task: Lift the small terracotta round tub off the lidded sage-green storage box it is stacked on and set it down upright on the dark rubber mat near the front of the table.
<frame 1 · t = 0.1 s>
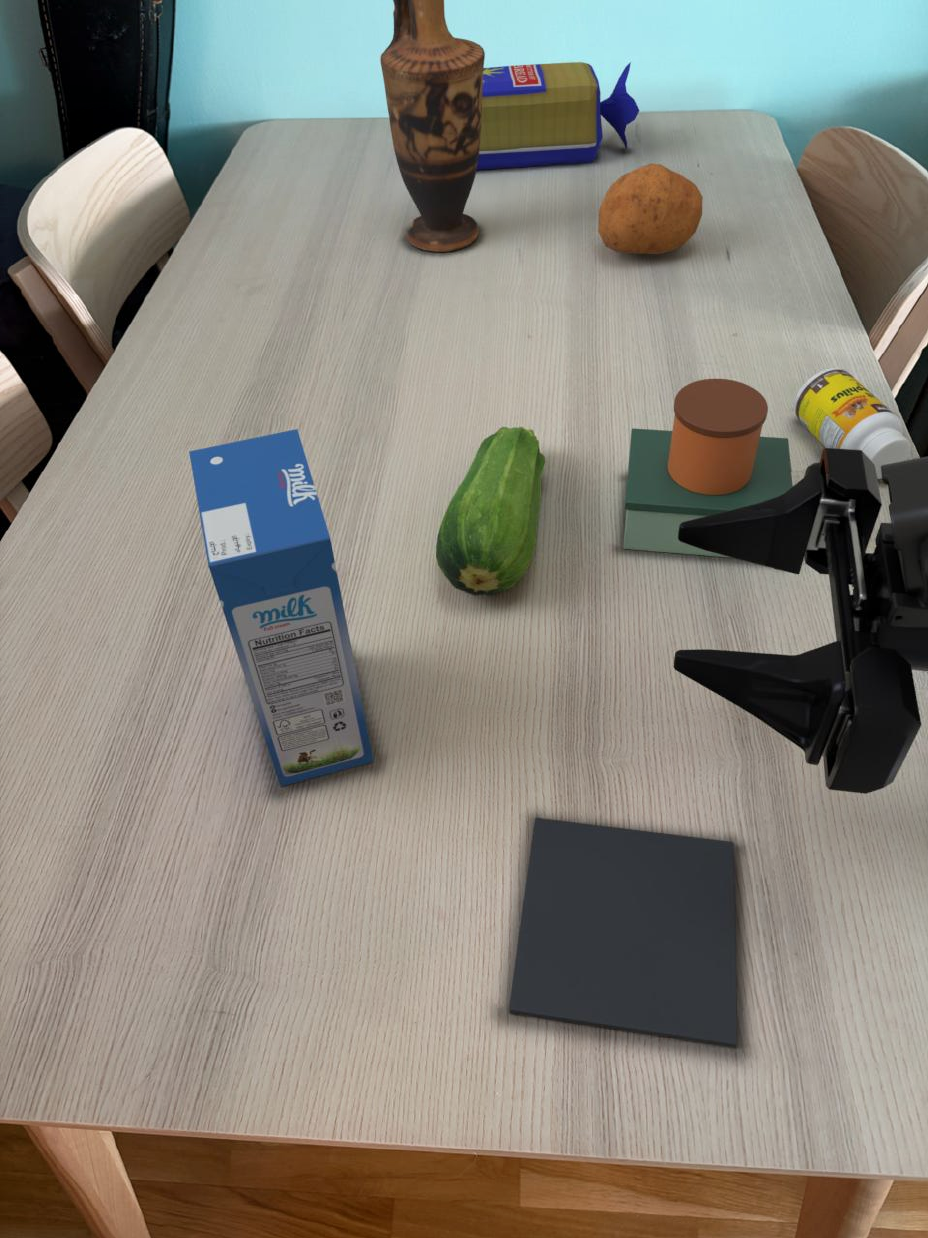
hand: (676, 591, 50), 17 cm above the table, tool horizontal, fingers open, 9 cm apart
vegetable: (500, 528, 80), on the table
round tub: (709, 468, 75), point 5 cm above the table, touching storage box
bread: (534, 156, 130), on the table
mat: (626, 925, 56), on the table
vase: (443, 238, 115), on the table
supplement bottle: (817, 391, 86), point 3 cm above the table
potato: (640, 217, 110), point 3 cm above the table
storage box: (700, 517, 79), on the table, touching round tub
milk carton: (314, 719, 67), on the table
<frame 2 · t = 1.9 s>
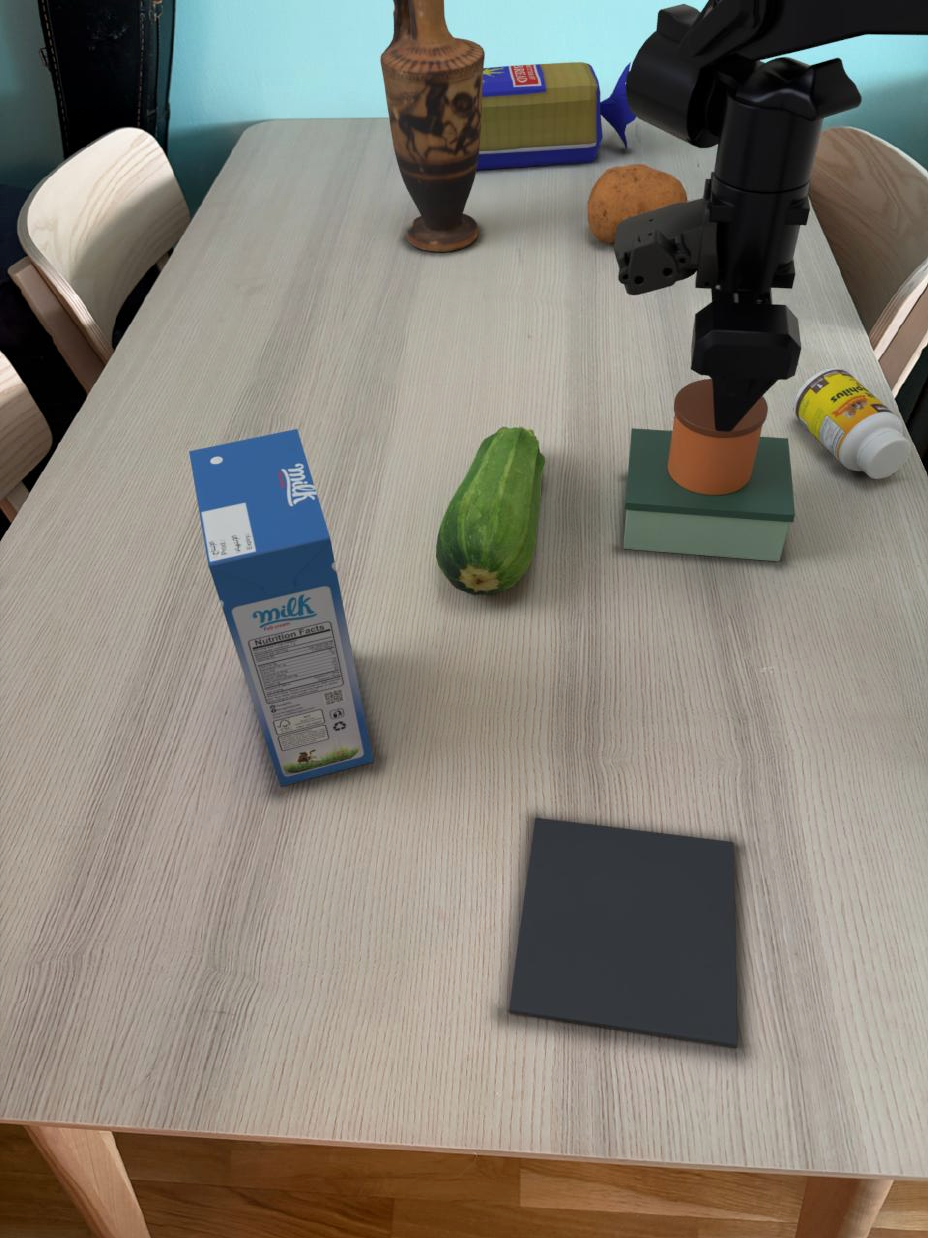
hand: (722, 391, 70), 12 cm above the table, tool pointing down, fingers open, 9 cm apart
potato: (634, 236, 113), on the table
everything else where it was.
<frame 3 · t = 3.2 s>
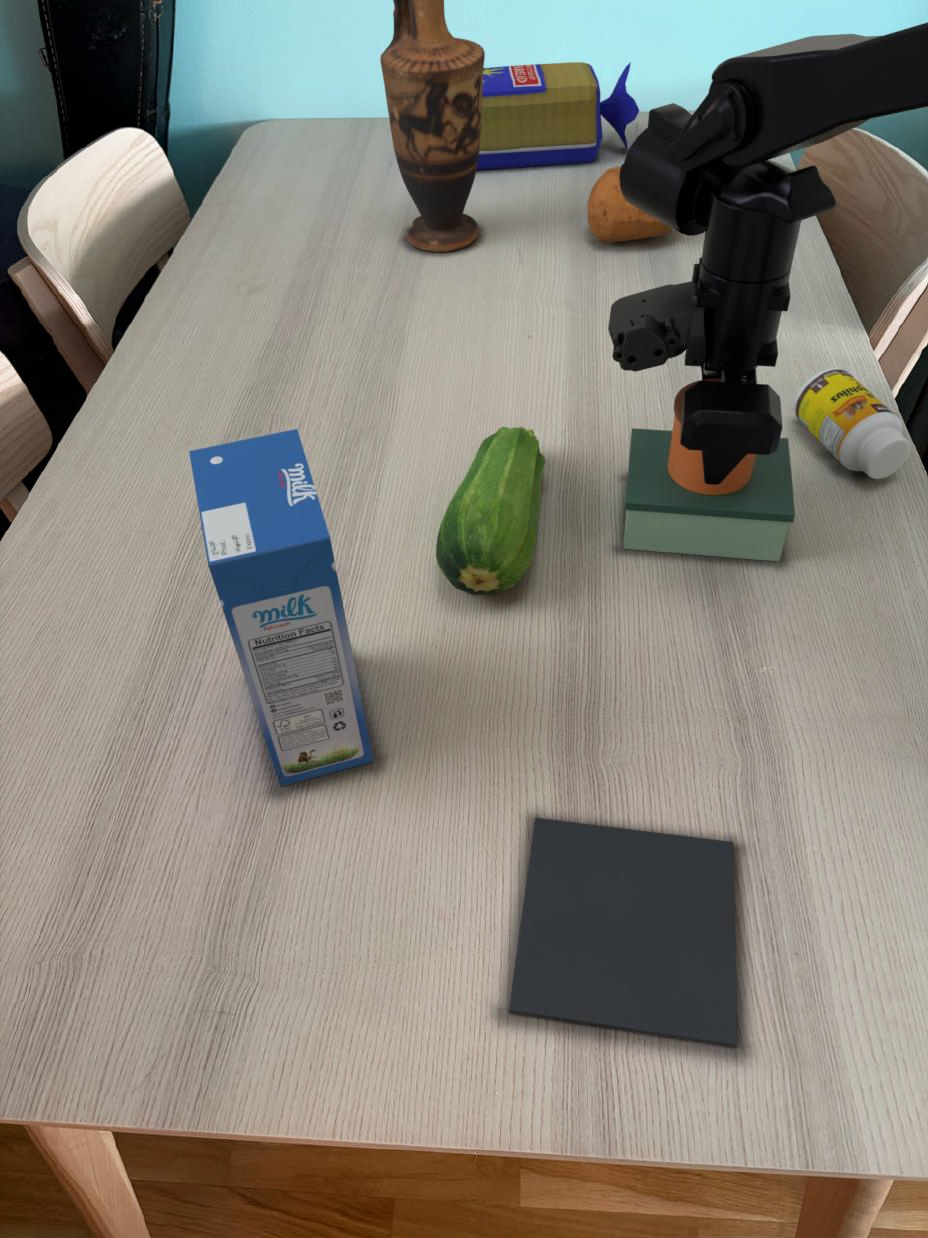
hand: (711, 455, 75), 6 cm above the table, tool pointing down, fingers closed on round tub, 6 cm apart
round tub: (709, 469, 75), point 5 cm above the table, touching gripper, storage box
everything else where it was.
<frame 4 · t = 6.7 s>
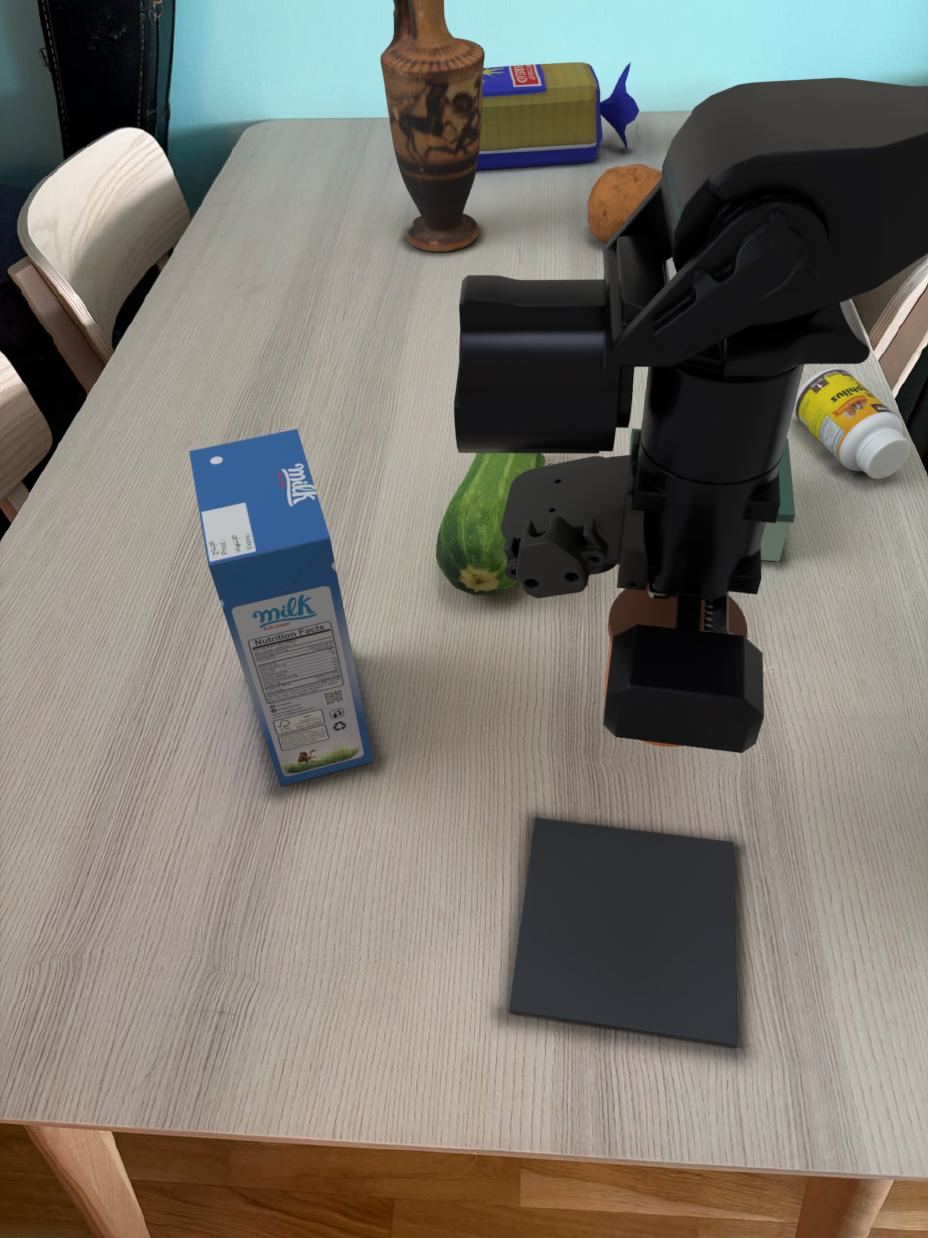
hand: (668, 683, 51), 13 cm above the table, tool pointing down, fingers closed on round tub, 6 cm apart
round tub: (664, 698, 52), point 12 cm above the table, touching gripper
storage box: (700, 517, 79), on the table
everything else where it was.
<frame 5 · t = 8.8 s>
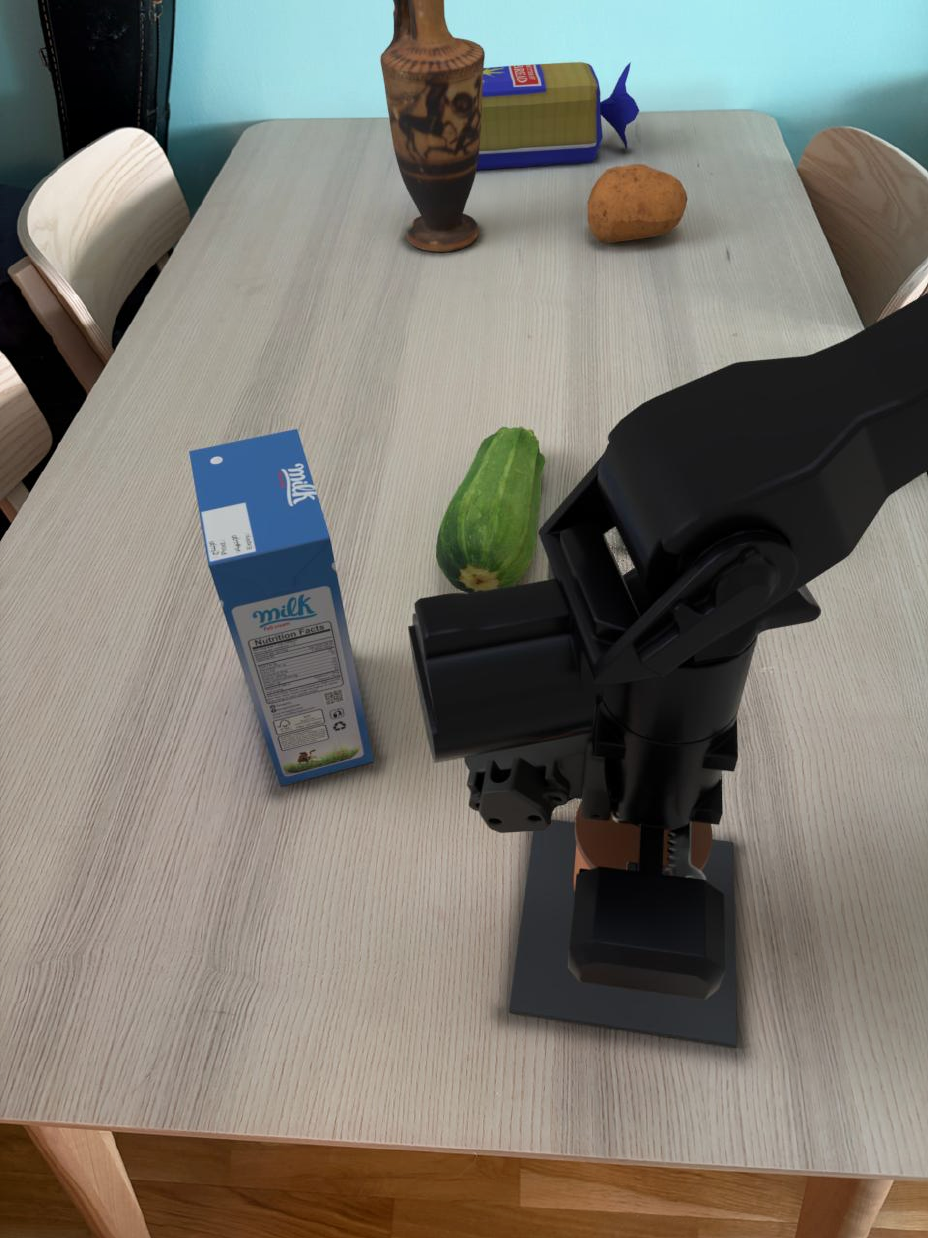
hand: (637, 873, 51), 6 cm above the table, tool pointing down, fingers closed on round tub, 6 cm apart
round tub: (633, 885, 52), point 5 cm above the table, touching gripper
everything else where it was.
when the fingers open (2 cm above the table, at t = 10.4 s): round tub stays where it is, resting on mat.
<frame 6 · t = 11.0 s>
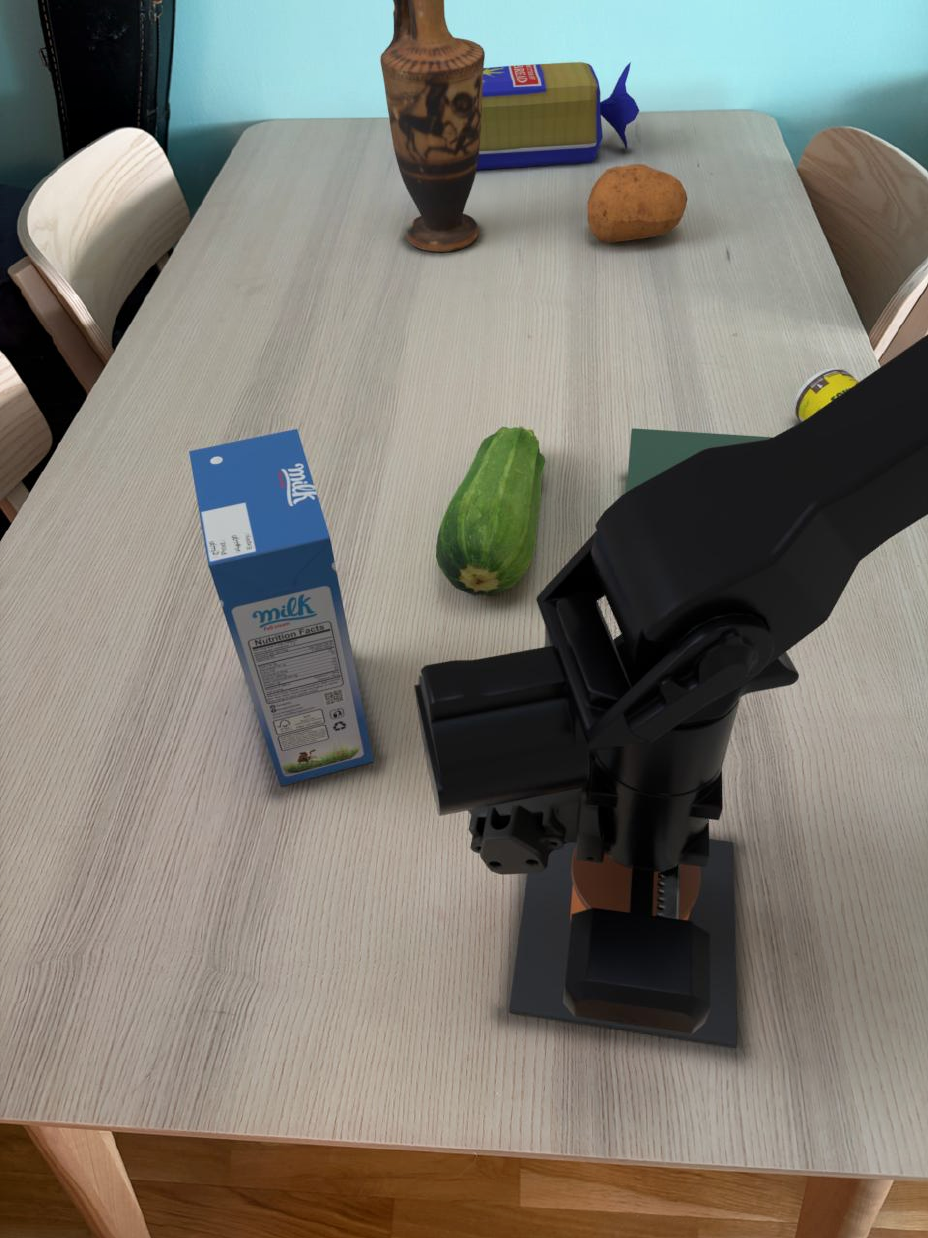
hand: (629, 906, 54), 2 cm above the table, tool pointing down, fingers open, 9 cm apart
round tub: (626, 921, 55), resting on mat
everything else where it was.
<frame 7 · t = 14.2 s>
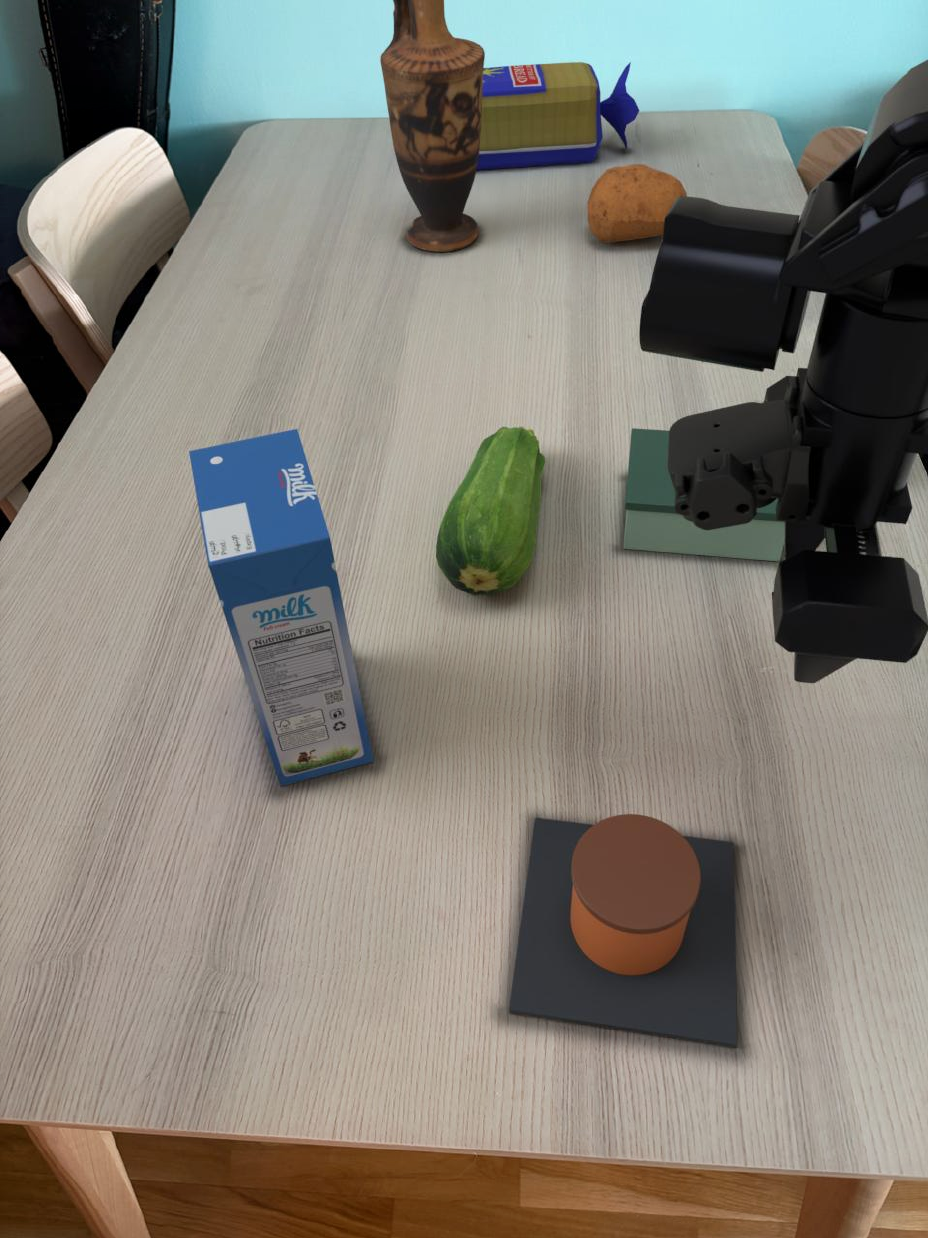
hand: (798, 618, 55), 12 cm above the table, tool pointing down, fingers open, 9 cm apart
nothing on the table moved.
at the end: round tub inside the target area on the mat (0.0 cm from its centre), point 0.5 cm above the mat's base; round tub tilted 0°; storage box moved 0.0 cm from its start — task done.
